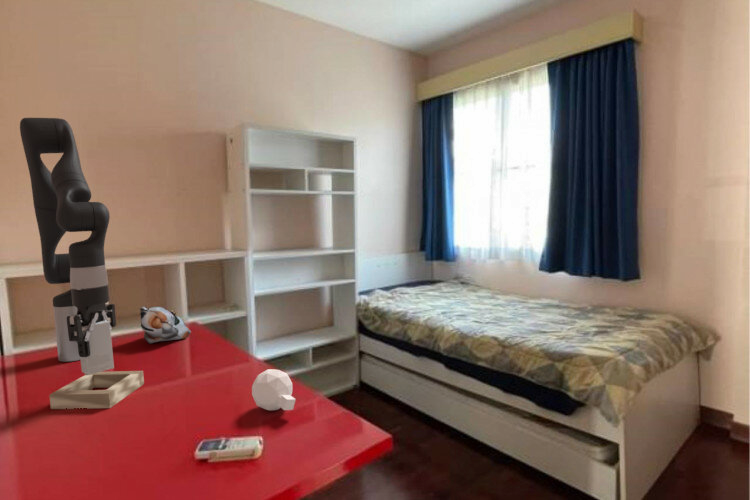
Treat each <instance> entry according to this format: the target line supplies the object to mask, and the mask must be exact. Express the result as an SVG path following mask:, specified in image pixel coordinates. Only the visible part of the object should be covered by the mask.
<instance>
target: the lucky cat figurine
mask: <svg viewBox="0 0 750 500" xmlns="http://www.w3.org/2000/svg"><path fill="white" fill-rule="evenodd" d="M139 310H140V311H139V312H140V313H139V314H140V327H141V329H142V331H143V332H144V334H143V338H144V340H145V341H146V342H147V343H148V344H151V345H152V344H155V343H158V342H167V341H173V340H174V341H175V340H186V339H187V338H188V336H189V335H190V334H191V333H192V330H190V329H189V328H188V327H187V326H186V323H185V321H184V320H183V319H182V318H181V317H179V316H177V312H176V310H174V309H171V310H170V311H169V310H167V309H166V308H165V307H162V306H153V307H149V308H148V307H147V306H141V307H140V309H139Z"/></svg>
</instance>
